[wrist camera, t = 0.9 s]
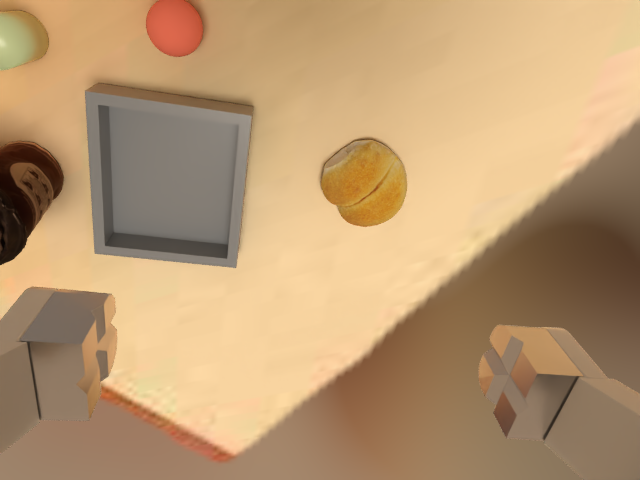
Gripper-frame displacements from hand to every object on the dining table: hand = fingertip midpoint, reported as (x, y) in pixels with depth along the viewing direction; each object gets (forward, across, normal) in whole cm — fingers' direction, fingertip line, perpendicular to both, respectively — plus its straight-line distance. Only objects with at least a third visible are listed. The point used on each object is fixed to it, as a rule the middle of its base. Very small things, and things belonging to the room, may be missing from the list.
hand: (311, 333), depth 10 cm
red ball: (+36, +9, -2) cm, 37 cm away
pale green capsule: (+38, +22, +1) cm, 44 cm away
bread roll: (+39, -9, +10) cm, 41 cm away
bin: (+38, +10, +12) cm, 41 cm away
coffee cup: (+39, +23, +13) cm, 47 cm away
